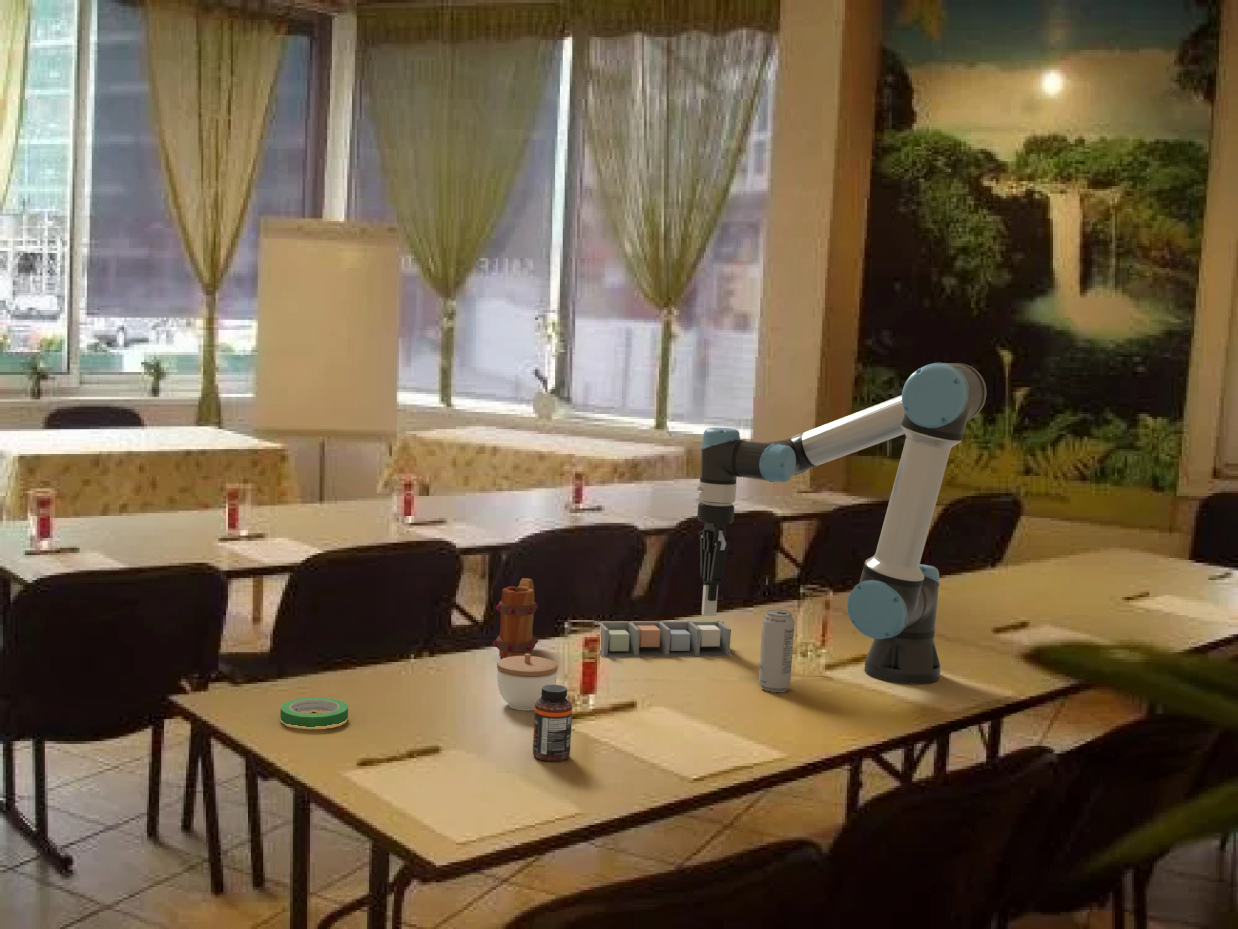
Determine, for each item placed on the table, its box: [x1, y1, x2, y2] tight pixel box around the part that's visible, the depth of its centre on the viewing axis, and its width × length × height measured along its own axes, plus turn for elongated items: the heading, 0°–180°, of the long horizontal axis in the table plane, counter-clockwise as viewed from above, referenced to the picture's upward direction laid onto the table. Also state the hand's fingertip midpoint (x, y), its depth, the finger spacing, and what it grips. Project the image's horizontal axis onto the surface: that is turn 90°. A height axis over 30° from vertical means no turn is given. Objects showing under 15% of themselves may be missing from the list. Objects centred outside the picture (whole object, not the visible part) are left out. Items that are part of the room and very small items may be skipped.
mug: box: [492, 577, 539, 659], centre depth 288 cm, size 15×8×15 cm, turn 168°
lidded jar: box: [496, 653, 558, 711], centre depth 253 cm, size 11×11×9 cm
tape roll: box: [279, 696, 349, 727], centre depth 239 cm, size 11×11×3 cm
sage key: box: [608, 630, 630, 651], centre depth 292 cm, size 4×4×4 cm
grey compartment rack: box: [593, 620, 735, 658], centre depth 295 cm, size 10×28×6 cm, turn 104°
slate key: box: [669, 629, 691, 651], centre depth 296 cm, size 4×4×4 cm
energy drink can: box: [758, 609, 795, 693], centre depth 273 cm, size 6×6×15 cm
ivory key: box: [697, 625, 721, 646], centre depth 297 cm, size 4×4×4 cm
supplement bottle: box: [532, 684, 573, 762], centre depth 226 cm, size 6×6×11 cm
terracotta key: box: [637, 625, 660, 647], centre depth 294 cm, size 4×4×4 cm
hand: (708, 614), depth 297 cm, fingers closed
